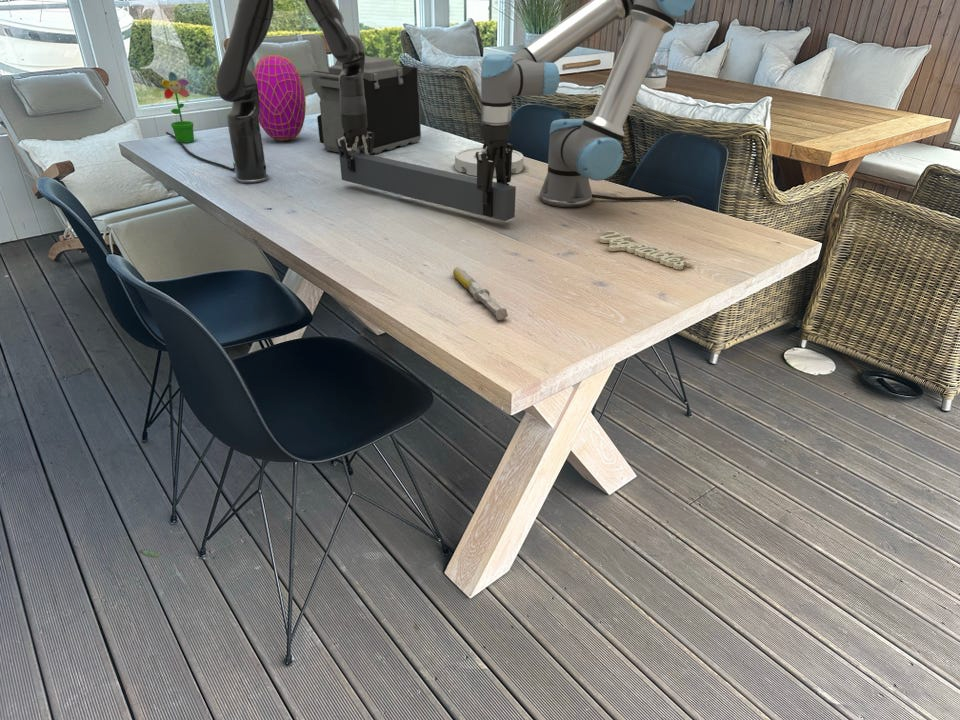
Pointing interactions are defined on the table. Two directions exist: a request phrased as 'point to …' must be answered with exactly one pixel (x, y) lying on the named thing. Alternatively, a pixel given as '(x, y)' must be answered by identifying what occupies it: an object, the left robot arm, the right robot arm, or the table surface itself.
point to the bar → (428, 185)
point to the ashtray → (468, 161)
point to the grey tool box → (373, 104)
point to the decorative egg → (280, 97)
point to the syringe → (479, 293)
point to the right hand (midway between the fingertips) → (493, 212)
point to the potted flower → (181, 128)
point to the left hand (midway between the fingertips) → (358, 169)
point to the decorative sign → (643, 250)
